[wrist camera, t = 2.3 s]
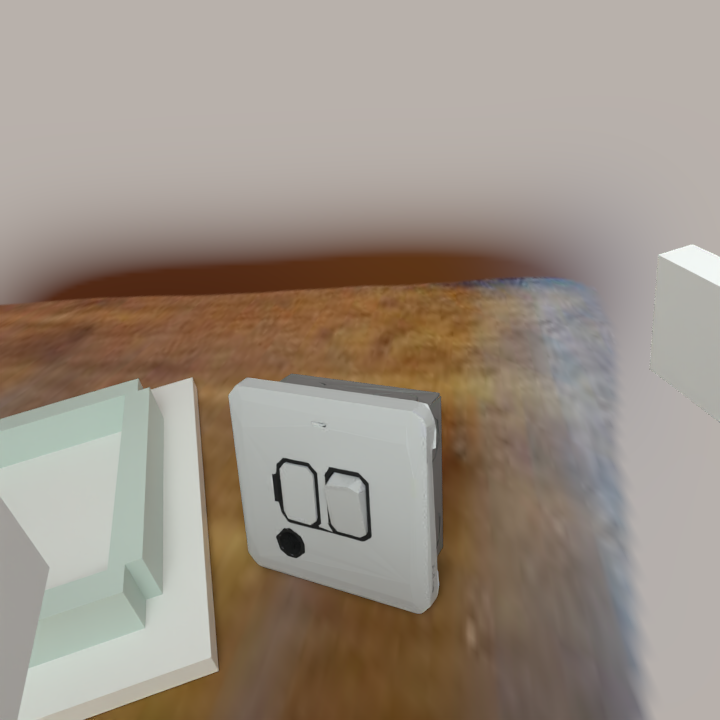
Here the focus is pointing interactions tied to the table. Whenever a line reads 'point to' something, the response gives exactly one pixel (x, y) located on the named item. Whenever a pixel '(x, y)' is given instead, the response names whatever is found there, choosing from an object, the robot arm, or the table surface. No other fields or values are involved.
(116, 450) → the pocket tray
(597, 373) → the table surface
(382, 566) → the electrical switch
